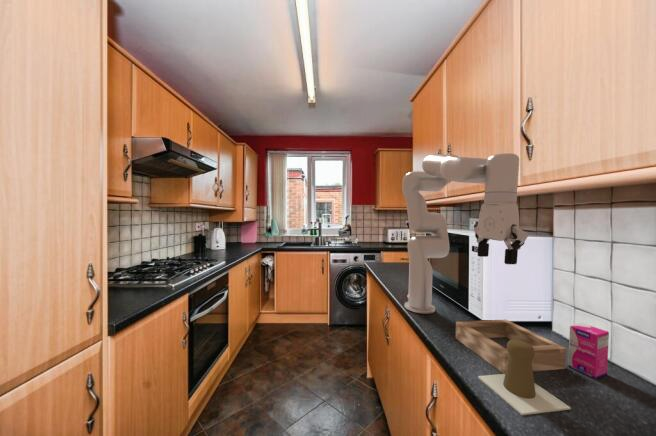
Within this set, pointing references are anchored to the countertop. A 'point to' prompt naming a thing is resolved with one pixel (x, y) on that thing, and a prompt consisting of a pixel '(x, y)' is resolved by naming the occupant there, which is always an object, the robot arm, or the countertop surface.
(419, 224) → the robot arm
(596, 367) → the supplement box
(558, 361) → the box
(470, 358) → the countertop surface
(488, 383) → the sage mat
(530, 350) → the cork
